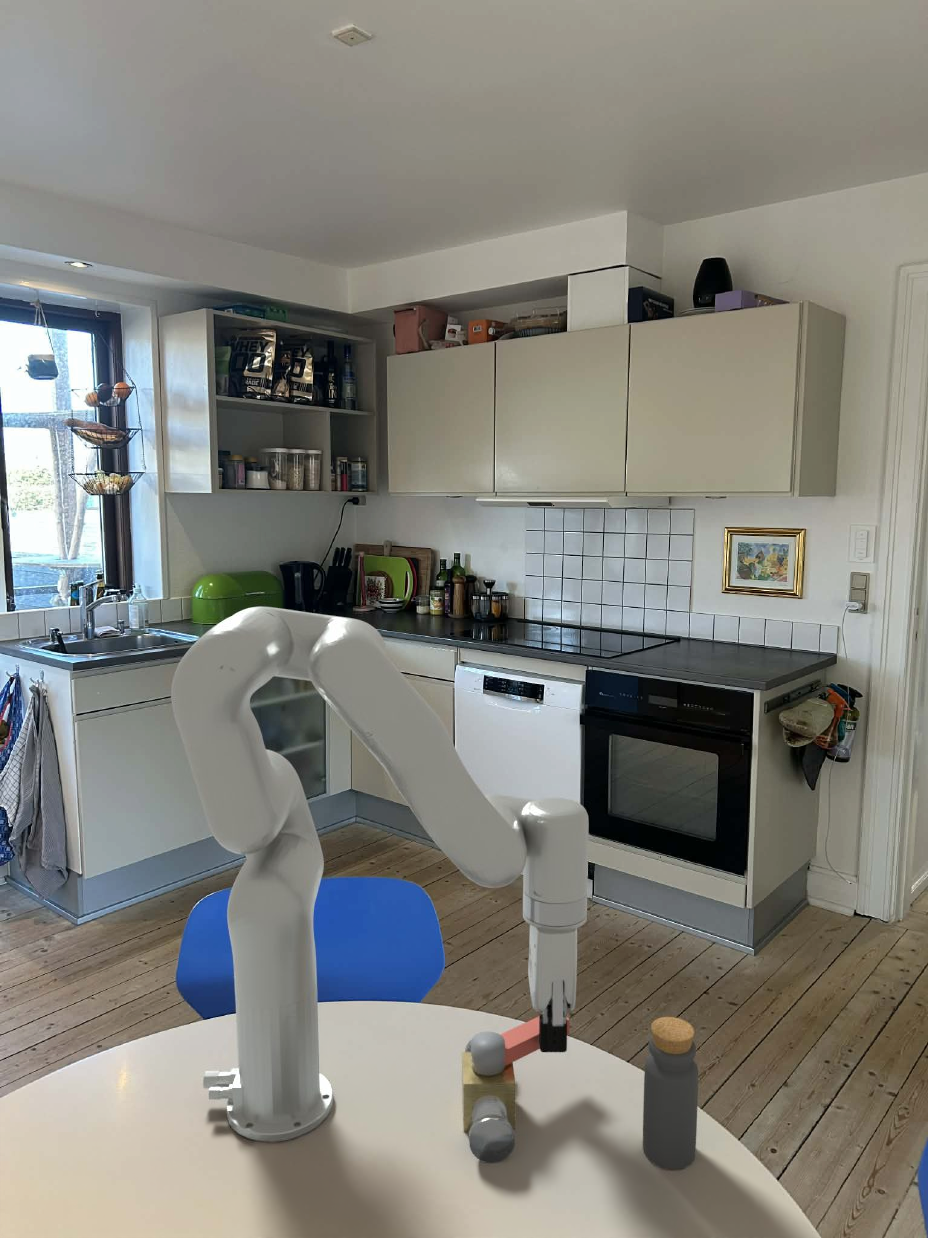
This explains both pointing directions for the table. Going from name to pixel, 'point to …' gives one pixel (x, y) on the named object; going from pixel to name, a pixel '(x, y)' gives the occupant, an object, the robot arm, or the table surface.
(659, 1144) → the bottle
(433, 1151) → the table surface
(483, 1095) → the valve body
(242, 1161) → the table surface
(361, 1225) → the table surface
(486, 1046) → the lever
